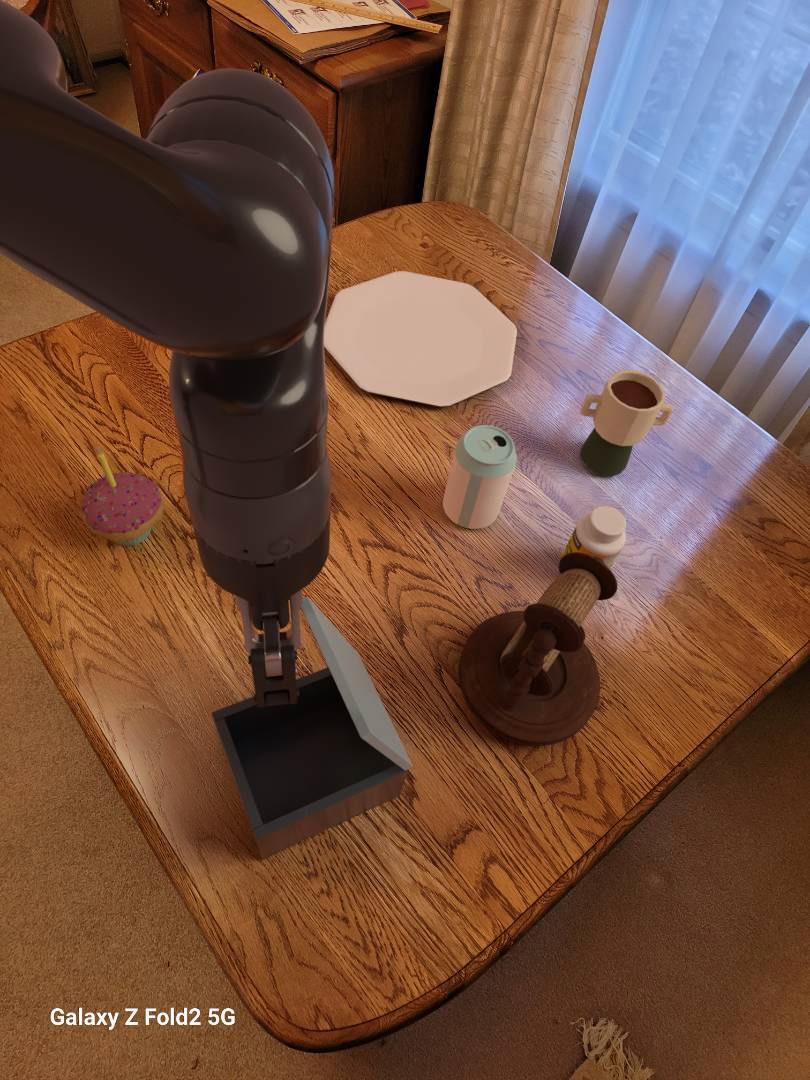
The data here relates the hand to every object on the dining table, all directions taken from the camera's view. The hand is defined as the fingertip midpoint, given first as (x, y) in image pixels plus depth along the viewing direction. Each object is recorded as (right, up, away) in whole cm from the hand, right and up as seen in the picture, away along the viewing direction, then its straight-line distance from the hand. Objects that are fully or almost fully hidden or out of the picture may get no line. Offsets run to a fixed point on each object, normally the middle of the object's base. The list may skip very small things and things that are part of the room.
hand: (274, 638), depth 53 cm
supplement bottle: (+30, +3, +35) cm, 46 cm away
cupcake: (-22, +8, +32) cm, 40 cm away
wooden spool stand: (+22, -8, +26) cm, 35 cm away
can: (+17, +11, +39) cm, 44 cm away
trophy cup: (+35, +17, +46) cm, 60 cm away
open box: (0, -15, +18) cm, 24 cm away
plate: (+11, +36, +56) cm, 67 cm away
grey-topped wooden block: (+5, -5, +7) cm, 10 cm away
